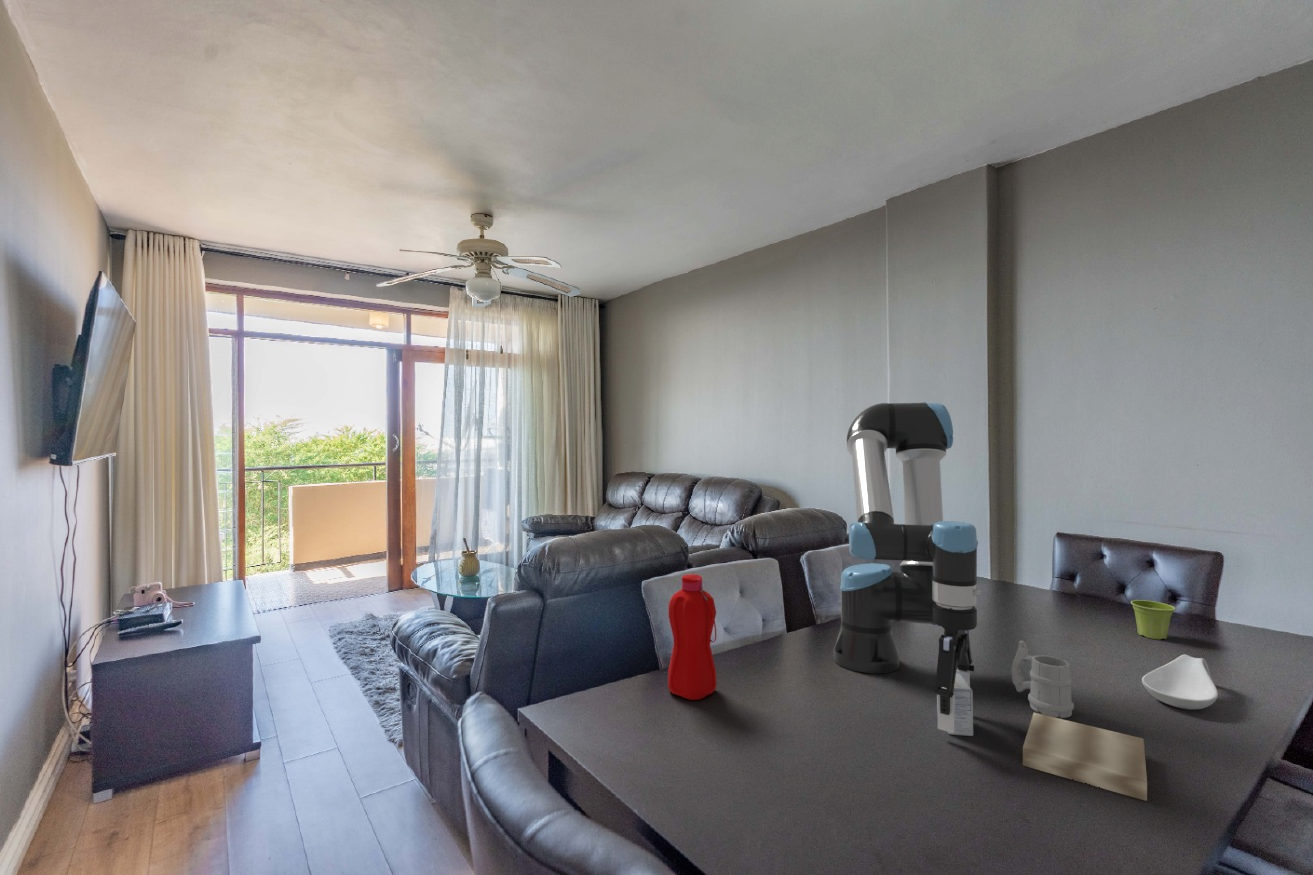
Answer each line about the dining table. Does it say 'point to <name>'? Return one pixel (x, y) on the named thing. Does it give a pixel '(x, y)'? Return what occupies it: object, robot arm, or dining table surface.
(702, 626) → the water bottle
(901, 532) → the robot arm
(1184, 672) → the spoon rest
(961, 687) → the medicine box
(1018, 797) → the dining table surface
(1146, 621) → the plant pot
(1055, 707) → the mug
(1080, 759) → the birch stand
